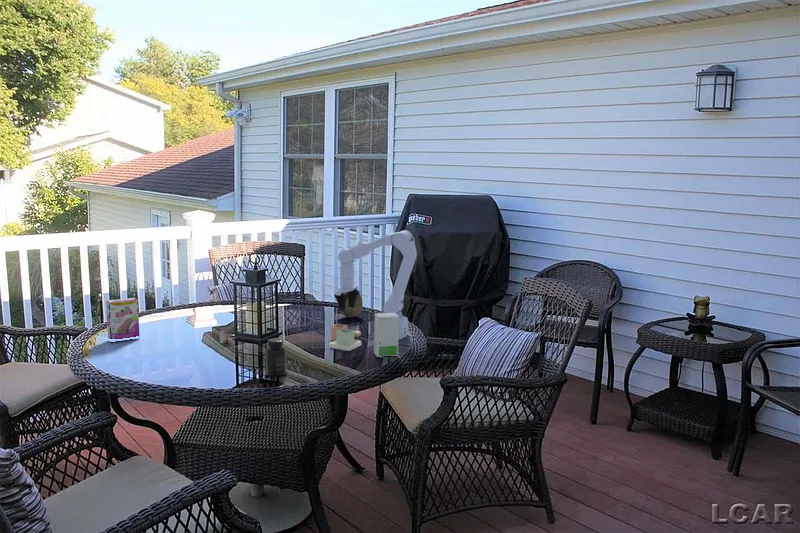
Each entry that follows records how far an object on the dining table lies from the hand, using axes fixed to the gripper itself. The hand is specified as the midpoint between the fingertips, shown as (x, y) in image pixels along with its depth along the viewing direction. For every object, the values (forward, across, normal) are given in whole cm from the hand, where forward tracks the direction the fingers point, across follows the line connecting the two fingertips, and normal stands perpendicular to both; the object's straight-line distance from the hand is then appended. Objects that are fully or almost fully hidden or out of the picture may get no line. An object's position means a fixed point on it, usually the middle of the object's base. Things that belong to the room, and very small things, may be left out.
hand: (347, 309), depth 276 cm
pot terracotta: (+10, +11, +3) cm, 15 cm away
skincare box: (+10, +21, +30) cm, 38 cm away
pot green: (+9, +19, +11) cm, 24 cm away
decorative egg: (+10, -23, -12) cm, 28 cm away
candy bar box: (+10, +55, -70) cm, 90 cm away
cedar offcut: (+10, +4, +5) cm, 12 cm away
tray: (+10, +19, +11) cm, 24 cm away
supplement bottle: (+10, +59, +8) cm, 60 cm away
